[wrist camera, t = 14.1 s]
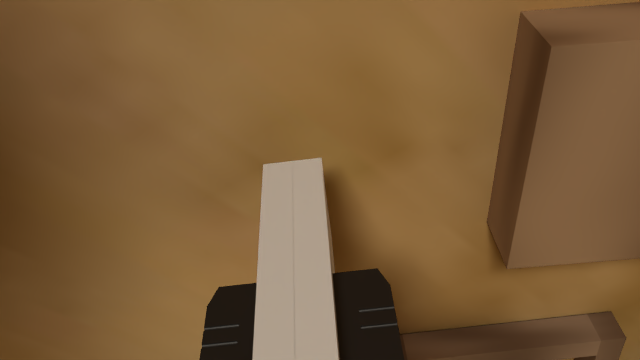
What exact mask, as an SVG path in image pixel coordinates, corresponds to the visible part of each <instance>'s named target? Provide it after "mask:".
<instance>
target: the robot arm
mask: <svg viewBox="0 0 640 360" xmlns="http://www.w3.org/2000/svg"><path fill="white" fill-rule="evenodd" d="M204 329H205V331H204V332H203V339H202V349H201V353H200V360H404V355H403V350H402V345H401V339H400V334H399V329H398V325H397V319H396V313H395V309H394V303H393V298H392V292H391V287H390V284H389V283H388V282H387V281H386V279H385V278H384V277H383V275H382V274H381V273H380V271H379V270H378V269H368V270H359V271H350V272H341V273H335V268H334V257H333V246H332V236H331V228H330V220H329V212H328V205H327V197H326V189H325V181H324V174H323V166H322V158H315V159H306V160H298V161H289V162H280V163H271V164H263V178H262V196H261V214H260V232H259V250H258V268H257V283H252V284H242V285H233V286H224V287H219V288H218V290H217V291H216V293H215V294H214V296H213V298H212V299H211V301H210V303H209V304H208V306H207V311H206V318H205V325H204Z"/></svg>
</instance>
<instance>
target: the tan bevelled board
mask: <svg viewBox="0 0 640 360" xmlns="http://www.w3.org/2000/svg"><path fill="white" fill-rule="evenodd" d="M487 223H488V226H489V228H490V230H491V233H492V235H493V237H494V240H495V242H496V244H497V247H498V249H499V251H500V254H501V256H502V259H503V261H504V263H505V266H506V268H507V269H512V268H524V267H537V266H550V265H562V264H575V263H587V262H600V261H613V260H625V259H638V258H640V2H635V3H622V4H610V5H597V6H584V7H572V8H559V9H546V10H534V11H521V13H520V19H519V25H518V31H517V37H516V44H515V50H514V56H513V62H512V69H511V75H510V81H509V87H508V94H507V100H506V106H505V112H504V119H503V125H502V131H501V137H500V144H499V150H498V156H497V162H496V169H495V175H494V181H493V187H492V193H491V200H490V206H489V212H488V218H487Z"/></svg>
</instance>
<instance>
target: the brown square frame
mask: <svg viewBox="0 0 640 360" xmlns="http://www.w3.org/2000/svg"><path fill="white" fill-rule="evenodd" d="M400 339H401V345H402V350H403V355H404V360H560V359H569V358H575V359H574V360H618V359H619V357H620V354H621V351H622V348H623V346H624V343H625V340H626V337H625V335H624V333H623V331H622V330H621V328H620V326H619V324H618V323H617V321H616V319H615V317H614V316H613V314H612V312H602V313H593V314H584V315H575V316H566V317H557V318H548V319H539V320H530V321H520V322H511V323H502V324H493V325H484V326H475V327H466V328H457V329H448V330H438V331H429V332H420V333H411V334H402V335H400Z"/></svg>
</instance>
